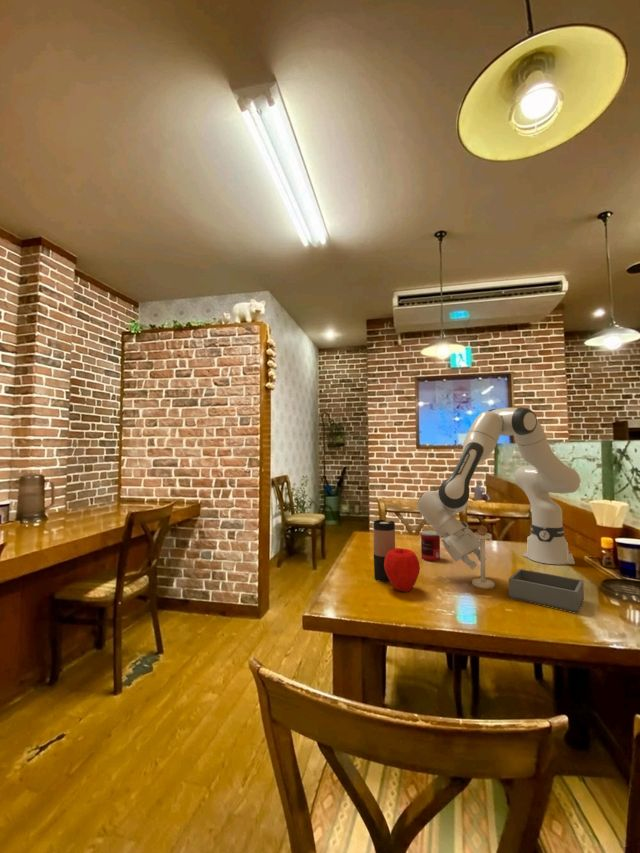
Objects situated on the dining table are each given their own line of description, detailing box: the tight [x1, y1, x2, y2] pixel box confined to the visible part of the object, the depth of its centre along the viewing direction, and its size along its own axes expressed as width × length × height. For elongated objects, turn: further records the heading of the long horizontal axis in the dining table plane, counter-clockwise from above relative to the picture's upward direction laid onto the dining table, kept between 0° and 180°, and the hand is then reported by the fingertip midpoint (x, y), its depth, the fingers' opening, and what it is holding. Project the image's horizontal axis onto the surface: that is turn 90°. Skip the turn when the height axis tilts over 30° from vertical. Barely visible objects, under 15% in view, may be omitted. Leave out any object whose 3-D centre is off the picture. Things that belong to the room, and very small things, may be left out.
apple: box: [384, 547, 421, 593], centre depth 130 cm, size 12×12×13 cm
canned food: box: [420, 530, 441, 562], centre depth 165 cm, size 8×8×11 cm
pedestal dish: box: [471, 531, 495, 590], centre depth 134 cm, size 7×7×17 cm
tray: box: [508, 568, 585, 614], centre depth 122 cm, size 13×18×6 cm
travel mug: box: [373, 519, 396, 583], centre depth 141 cm, size 8×8×20 cm
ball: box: [476, 525, 488, 535], centre depth 135 cm, size 3×3×3 cm
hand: (479, 564), depth 135 cm, fingers open, 8 cm apart
